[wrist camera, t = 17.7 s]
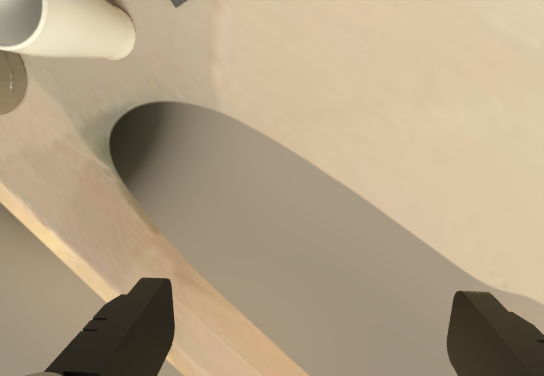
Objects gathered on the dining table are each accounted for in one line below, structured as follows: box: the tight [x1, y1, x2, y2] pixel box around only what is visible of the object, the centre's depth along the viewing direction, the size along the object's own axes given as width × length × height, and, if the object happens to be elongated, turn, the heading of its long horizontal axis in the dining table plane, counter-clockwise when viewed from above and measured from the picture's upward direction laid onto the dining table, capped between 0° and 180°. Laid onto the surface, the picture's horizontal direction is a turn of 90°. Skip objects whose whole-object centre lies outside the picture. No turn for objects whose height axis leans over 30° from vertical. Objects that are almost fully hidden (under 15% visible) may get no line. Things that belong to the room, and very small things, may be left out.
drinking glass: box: [0, 0, 136, 60], centre depth 30 cm, size 7×7×15 cm
